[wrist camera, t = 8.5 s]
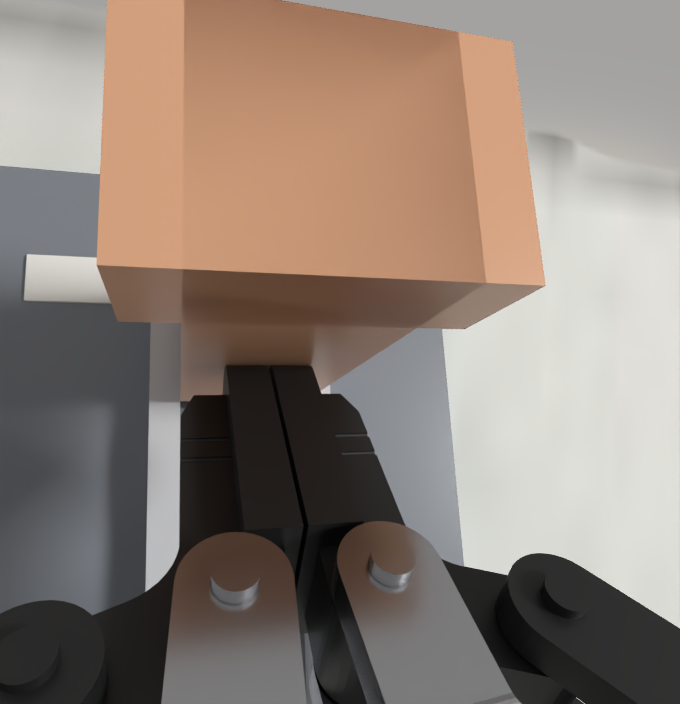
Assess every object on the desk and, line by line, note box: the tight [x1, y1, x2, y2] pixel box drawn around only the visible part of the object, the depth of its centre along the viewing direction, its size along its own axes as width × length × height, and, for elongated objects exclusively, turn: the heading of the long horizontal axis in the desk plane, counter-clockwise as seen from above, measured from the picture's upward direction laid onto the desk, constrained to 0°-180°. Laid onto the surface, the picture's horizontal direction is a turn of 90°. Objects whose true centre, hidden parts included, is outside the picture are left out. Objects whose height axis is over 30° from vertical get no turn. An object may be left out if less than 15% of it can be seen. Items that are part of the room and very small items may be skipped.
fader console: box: [0, 166, 464, 704], centre depth 15 cm, size 12×16×3 cm
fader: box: [96, 0, 545, 401], centre depth 10 cm, size 4×3×10 cm
